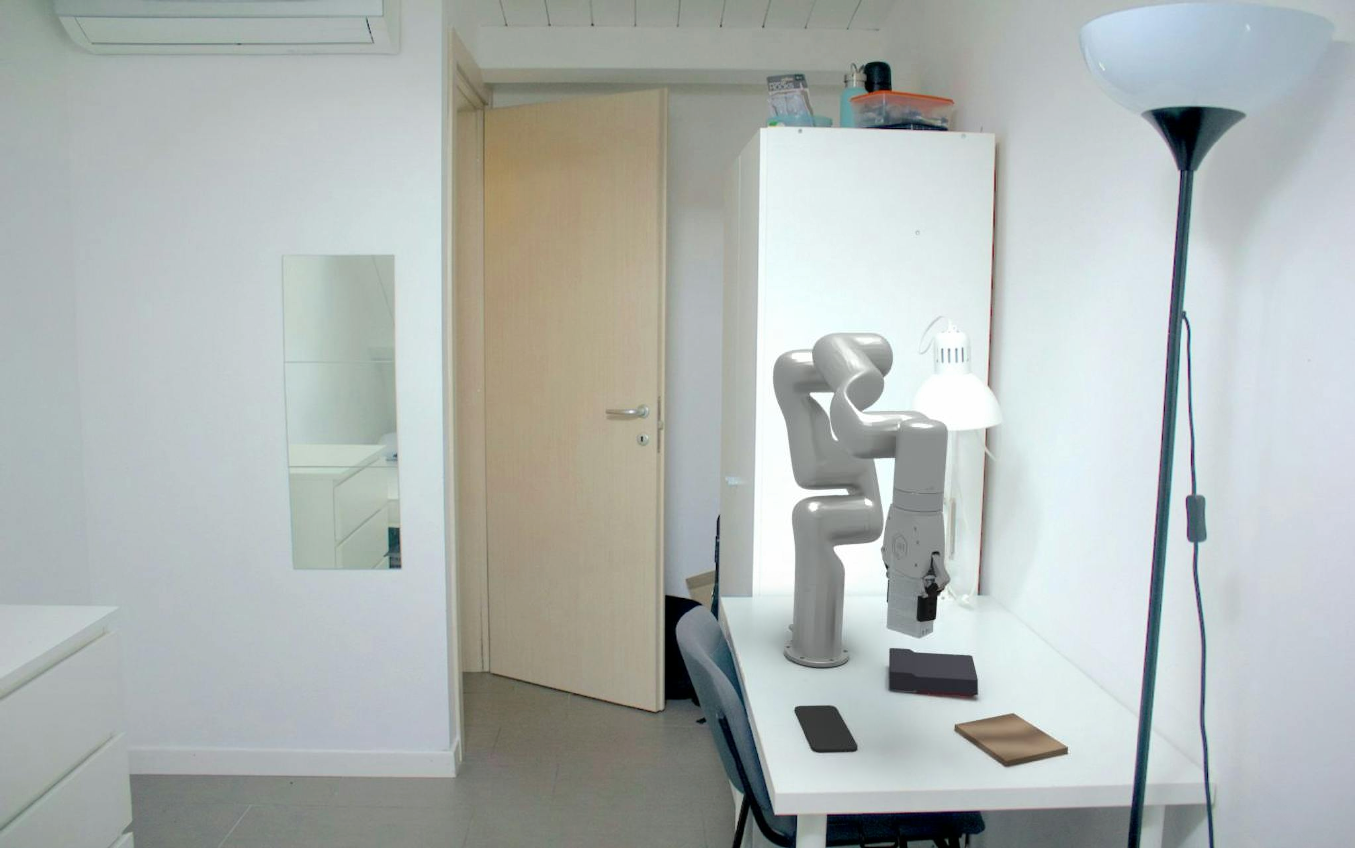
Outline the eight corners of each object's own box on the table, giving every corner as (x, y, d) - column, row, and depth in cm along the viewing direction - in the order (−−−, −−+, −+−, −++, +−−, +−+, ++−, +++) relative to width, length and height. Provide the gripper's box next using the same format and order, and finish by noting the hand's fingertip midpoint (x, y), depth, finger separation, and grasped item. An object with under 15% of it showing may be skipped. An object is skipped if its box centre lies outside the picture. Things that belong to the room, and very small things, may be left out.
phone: (835, 705, 154) (860, 748, 139) (835, 709, 154) (859, 753, 140) (792, 705, 154) (812, 749, 139) (792, 710, 154) (812, 755, 139)
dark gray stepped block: (972, 674, 168) (889, 669, 171) (972, 652, 167) (889, 647, 171) (977, 700, 157) (889, 694, 161) (978, 676, 157) (889, 671, 160)
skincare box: (933, 632, 140) (938, 558, 138) (919, 640, 137) (924, 564, 135) (899, 621, 144) (903, 549, 142) (884, 628, 141) (889, 554, 139)
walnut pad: (954, 730, 147) (954, 724, 147) (1013, 718, 151) (1013, 713, 151) (1005, 767, 136) (1006, 761, 136) (1067, 753, 140) (1068, 747, 140)
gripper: (865, 489, 144) (859, 595, 147) (932, 516, 128) (925, 635, 131) (904, 486, 147) (898, 590, 149) (975, 512, 131) (967, 629, 133)
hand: (910, 610), depth 140 cm, fingers closed on skincare box, 7 cm apart
